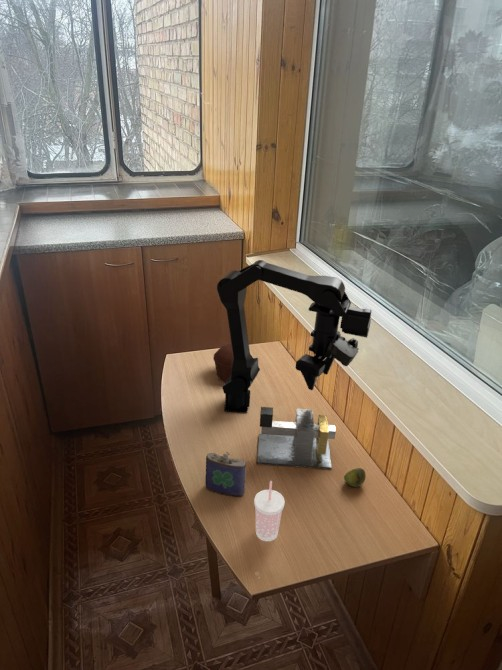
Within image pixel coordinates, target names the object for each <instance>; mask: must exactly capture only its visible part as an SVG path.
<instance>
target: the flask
mask: <svg viewBox="0 0 502 670" xmlns="http://www.w3.org/2000/svg"><path fill="white" fill-rule="evenodd" d="M230 455H231V454H230V452H228V451H226V452H225V453H223V454H222V455H220V454H218V453H216V452H210V453H207V454H206V457H205V479H204V480H205V481H204V482H205V489H206V490H208V491H209V492H212V493H214V494H217V495H224V496H229V497H235V498H237V497H238V498H239V497H240V498H241V497H242V496H244V495H245V489H246V488H245V486H246V485H245V483H246V466H247V465H246V462H245V460H243V459H237V458H231V457H229V456H230Z"/></svg>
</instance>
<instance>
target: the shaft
mask: <svg viewBox="0 0 502 670" xmlns="http://www.w3.org/2000/svg"><path fill="white" fill-rule="evenodd" d="M273 417H274V407H269V406H260V415H259V427H260V428H261V429H260V431H261V432H260V434H269V435H283V436H296V431H297V423H296V422H295V421H294V422H293V421H280V420H277V421H276V420H273V419H274V418H273ZM328 430H329V434H328V440H335V439H336V432H337V430H336V425H333V424H328ZM314 432H315V433H314V438H319V424H318V423H314Z"/></svg>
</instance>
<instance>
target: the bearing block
mask: <svg viewBox="0 0 502 670" xmlns="http://www.w3.org/2000/svg"><path fill="white" fill-rule="evenodd" d="M314 421H315V420H314V410H313V409H303V408H296V411H295V421H294V422H296V423H297V431H296V436H283V435H269V434H261V433H258V446H257V447H258V448H257V462H256V464H257V465H266V466H267V465H268V466H280V467H282V466H283V467H293V468H296V467H297V468H308V469H309V468H311V469H320V470H322V469H323V470H332V461H331V454H330V453H331V451H330V443H329V440H328V441H327V448H326V455H322V454H317V444H316V438H314V433H315V432H314V424H315V422H314Z"/></svg>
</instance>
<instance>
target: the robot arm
mask: <svg viewBox="0 0 502 670" xmlns="http://www.w3.org/2000/svg"><path fill="white" fill-rule="evenodd" d="M257 281H260V282H264V283H267V284H271V285H274V286H277V287H281V288H284V289H287V290H290V291H293V292H296V293H300V294H302V295H304V296H306V297H307V298H308V299H309V300H311V301H312V303H311V304H310V306H309V307H308V311H309V312H315V322H314V329H313V330H312V331H311V332H310V337H312V344H310V346H308V351H310V352H312V354H314V355H311V354H307V353H305V354H304V355H302V356H301V357H300V358H298V359H297V361H295V370H297V371H298V372H299V371H300V373H301V375H302V376H303V379H304V382H305V383H306V386H307V389H308V390H310V391H313V390H314V387H315V385H316V382H317V379H318V377H321V375H322V374H324V375H329V372H330V370H331V368H332V366H333V364H334V361H335V360H336V361H338V362H339V363H340V364H341V365H342V366H343V367H348V366H349V365H350V364H351V363H352V362H353V360H354V359H355V357H356V356H357V355H358V353H359V350H360V349H359V347H358V346H359V340H357V339H356V338H355V337H352V338H351V339H348V340H347V339H346V337H344V336H341V335H342V334H341V332H342V333H343V334H347V335H351V336H357V337H361V338H368V336H369V331H370V327H371V324H372V318H371V317H372V312H373V311H372V309H369V308H361V307H355V306H351V304H352V302H351V300H350V298H349V296H348V294H347V293H346V285H345V284H344V282H343V280H342V279H340V278H339V277H336V276H331V275H329V276H328V275H310V274H309V275H308V274H307V273H302V272H299V271H296V270H292V269H289V268H285V267H282V266H279V265H275V264H272V263H269V262H267V261H265V260H262V259H258V260H255V262H253V263H251V264H250V265H248V266H245V267H243V268H242V269H240V270H235V269H234V270H230V271H229V272H227V274H226V275H224V276H223V277H222V278H221V279H220V280H219V281H218V282H217V285H216V291H217V294H218V297H219V301H220V302H221V304H222V305H223V307H224V308H225V311H226V316H227V322H228V328H229V335H230V344H232V351H233V363H232V368H231V375H230V377H229V378H228V380H227V381H226V382H224V384H223V385H222V387H221V389H222V392H223V393H224V395H225V396H224V398H225V399H224V407H223V411H224V412H233V413H244V414H245V413H248V408H250V403H251V390H250V389H249V388H250V387H251V385H252V384H253V383H254V381H255V379H256V377H258V374H259V372H260V371H261V368H260V366H259V358H258V357H254V356H253V355H252V354H251V352H250V351H251V350H250V343H249V337H248V336H249V335H248V329H247V328H248V327H247V320H246V311H245V301H246V297H247V288H248V287H249V286H251V285H252V284H254V283H255V282H257ZM340 317H341V320H340ZM339 323H340V324H339ZM339 325H340V326H339ZM339 328H340V329H341V332H340V331H339Z"/></svg>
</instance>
